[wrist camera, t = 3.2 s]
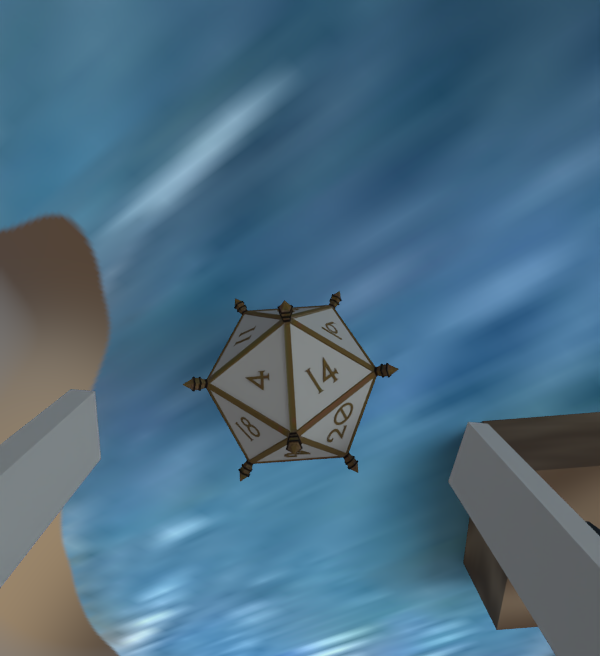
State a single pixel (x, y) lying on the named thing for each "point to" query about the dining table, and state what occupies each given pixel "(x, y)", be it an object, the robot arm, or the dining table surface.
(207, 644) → the dining table surface
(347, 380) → the game die
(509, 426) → the walnut block
